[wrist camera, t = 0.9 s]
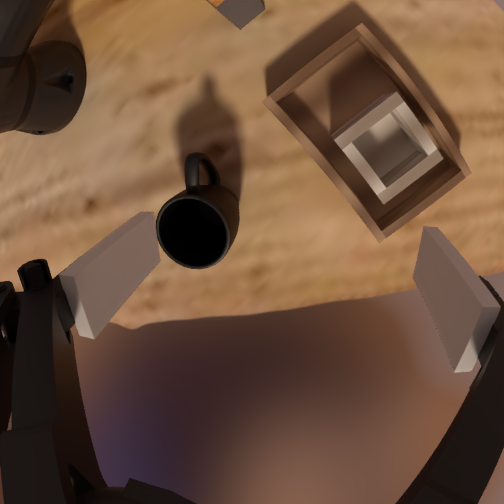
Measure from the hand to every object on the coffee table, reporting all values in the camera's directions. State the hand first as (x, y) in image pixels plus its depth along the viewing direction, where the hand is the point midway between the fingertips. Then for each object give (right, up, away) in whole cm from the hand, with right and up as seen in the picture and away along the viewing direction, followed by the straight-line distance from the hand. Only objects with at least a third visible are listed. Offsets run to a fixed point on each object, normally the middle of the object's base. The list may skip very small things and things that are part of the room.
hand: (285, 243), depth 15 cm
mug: (-6, +7, +25) cm, 27 cm away
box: (+12, +13, +18) cm, 26 cm away
